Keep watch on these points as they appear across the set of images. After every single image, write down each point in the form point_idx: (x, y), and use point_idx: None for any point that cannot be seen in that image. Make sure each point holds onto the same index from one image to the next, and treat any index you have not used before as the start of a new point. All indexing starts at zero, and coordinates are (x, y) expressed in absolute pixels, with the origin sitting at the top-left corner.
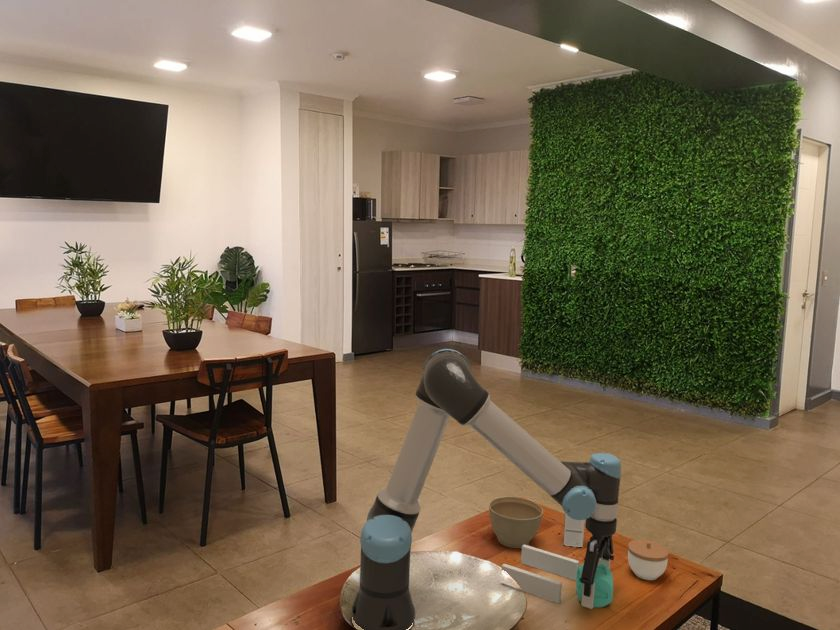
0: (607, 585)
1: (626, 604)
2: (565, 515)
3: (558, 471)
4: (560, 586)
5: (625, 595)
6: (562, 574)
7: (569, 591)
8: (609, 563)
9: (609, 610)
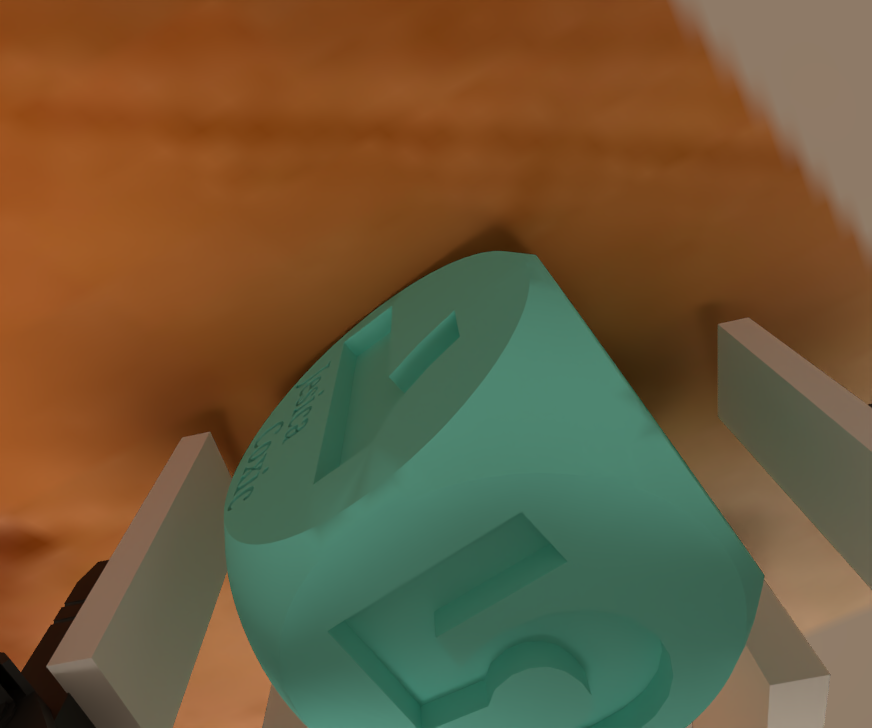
0: (614, 370)
1: (293, 144)
2: None
3: None
4: (790, 654)
5: (143, 241)
6: None
7: None
8: (101, 632)
9: (541, 215)
